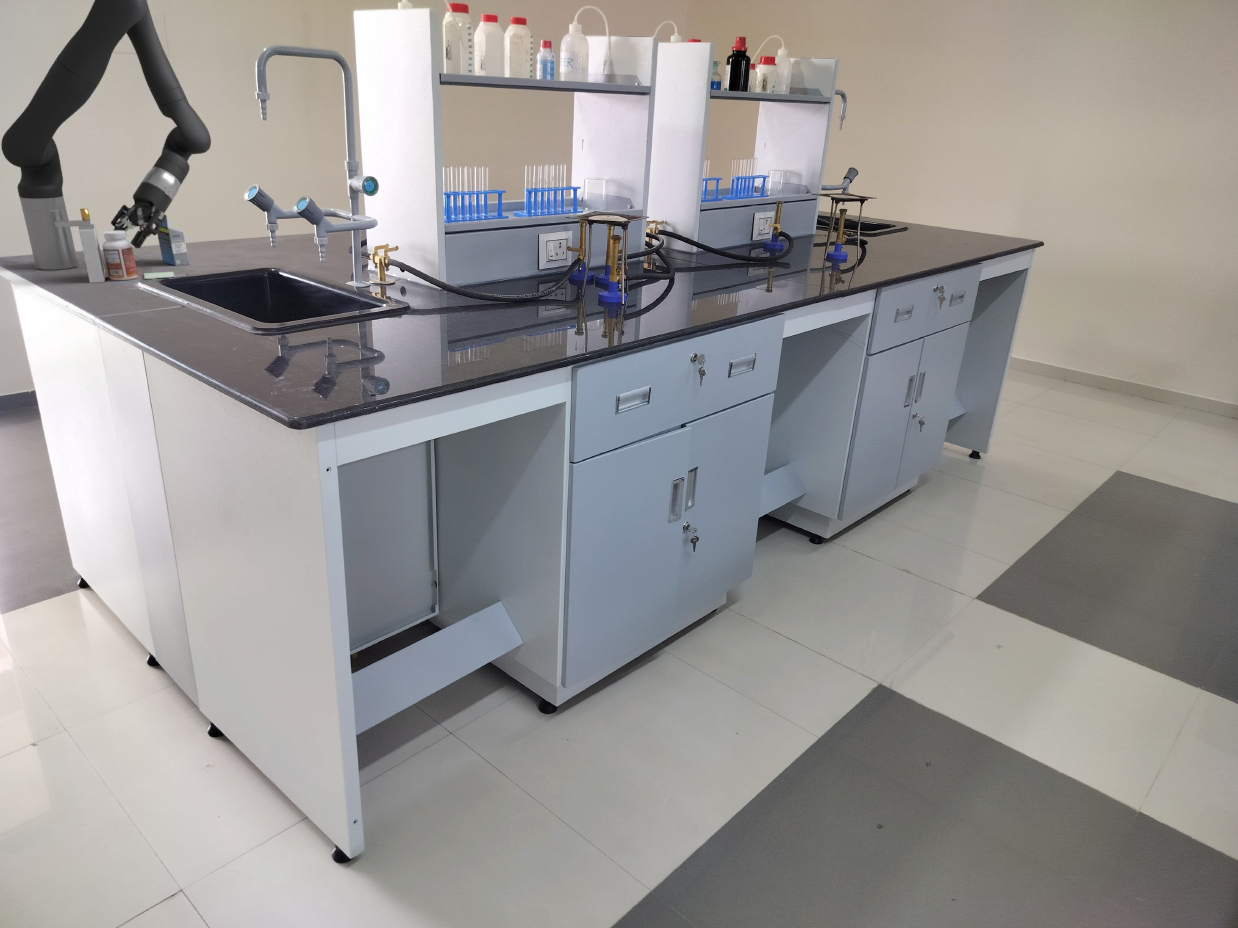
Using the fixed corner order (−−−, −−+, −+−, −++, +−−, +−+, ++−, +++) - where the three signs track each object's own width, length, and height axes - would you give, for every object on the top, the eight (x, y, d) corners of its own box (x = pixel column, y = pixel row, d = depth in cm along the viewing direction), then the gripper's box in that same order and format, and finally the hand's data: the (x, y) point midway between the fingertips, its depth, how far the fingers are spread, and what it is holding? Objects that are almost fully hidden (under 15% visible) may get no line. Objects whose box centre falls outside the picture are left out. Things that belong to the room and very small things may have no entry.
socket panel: (91, 275, 210) (80, 222, 205) (105, 275, 212) (94, 221, 207) (89, 282, 203) (78, 227, 198) (105, 281, 204) (93, 226, 199)
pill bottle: (134, 275, 213) (126, 229, 208) (140, 279, 208) (132, 232, 204) (106, 277, 209) (97, 231, 205) (112, 282, 205) (102, 234, 200)
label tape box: (190, 264, 227) (182, 216, 222) (174, 266, 224) (165, 218, 219) (176, 260, 233) (168, 213, 228) (161, 261, 230) (152, 214, 225)
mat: (144, 275, 213) (144, 273, 213) (173, 273, 216) (173, 271, 216) (144, 280, 208) (144, 278, 208) (174, 278, 211) (174, 276, 210)
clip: (56, 226, 199) (52, 209, 197) (91, 225, 202) (88, 208, 200) (55, 227, 198) (51, 210, 196) (91, 226, 201) (87, 209, 199)
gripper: (126, 178, 211) (91, 232, 206) (164, 182, 205) (129, 237, 201) (150, 199, 218) (116, 251, 213) (188, 203, 212) (154, 257, 207)
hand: (123, 244), depth 207 cm, fingers open, 8 cm apart
